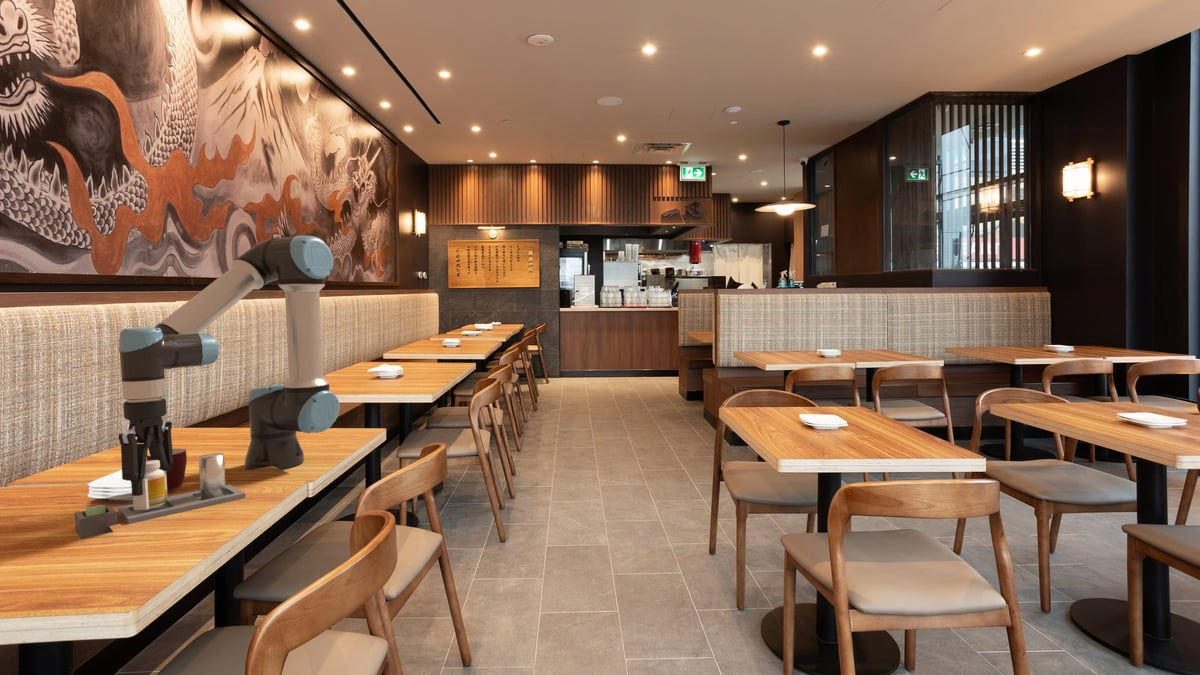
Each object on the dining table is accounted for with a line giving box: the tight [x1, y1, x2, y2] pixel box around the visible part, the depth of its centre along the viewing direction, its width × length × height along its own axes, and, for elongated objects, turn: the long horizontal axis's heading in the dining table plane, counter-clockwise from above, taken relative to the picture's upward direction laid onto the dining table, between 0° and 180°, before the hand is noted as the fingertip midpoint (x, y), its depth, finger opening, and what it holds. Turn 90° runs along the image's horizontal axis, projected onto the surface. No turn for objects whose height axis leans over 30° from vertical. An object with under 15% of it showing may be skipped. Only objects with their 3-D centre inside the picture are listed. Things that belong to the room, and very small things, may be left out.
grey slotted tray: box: [116, 484, 246, 525], centre depth 140 cm, size 22×11×2 cm, turn 137°
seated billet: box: [198, 452, 227, 501], centre depth 144 cm, size 5×5×10 cm
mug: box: [146, 448, 188, 490], centre depth 153 cm, size 10×8×10 cm
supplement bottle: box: [144, 460, 166, 509], centre depth 135 cm, size 5×5×10 cm
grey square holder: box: [73, 505, 119, 540], centre depth 128 cm, size 6×6×4 cm
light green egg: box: [84, 504, 106, 517], centre depth 128 cm, size 3×3×4 cm
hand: (151, 504), depth 136 cm, fingers closed on supplement bottle, 5 cm apart
